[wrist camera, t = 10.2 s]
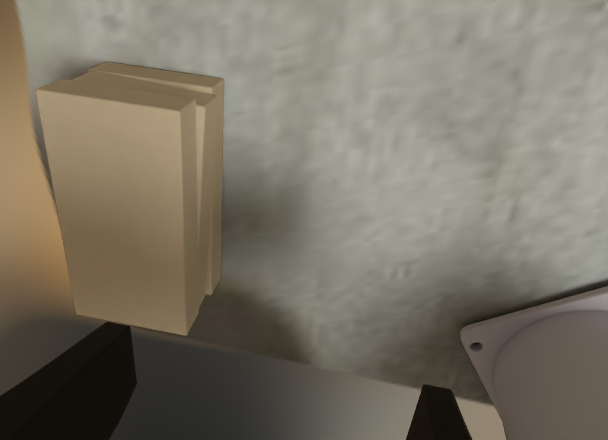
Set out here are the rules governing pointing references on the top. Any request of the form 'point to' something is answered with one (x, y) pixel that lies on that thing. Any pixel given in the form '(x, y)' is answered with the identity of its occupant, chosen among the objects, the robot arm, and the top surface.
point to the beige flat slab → (125, 201)
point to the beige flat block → (215, 88)
